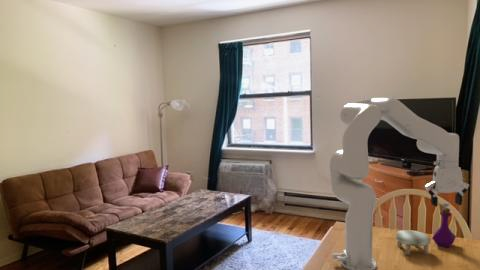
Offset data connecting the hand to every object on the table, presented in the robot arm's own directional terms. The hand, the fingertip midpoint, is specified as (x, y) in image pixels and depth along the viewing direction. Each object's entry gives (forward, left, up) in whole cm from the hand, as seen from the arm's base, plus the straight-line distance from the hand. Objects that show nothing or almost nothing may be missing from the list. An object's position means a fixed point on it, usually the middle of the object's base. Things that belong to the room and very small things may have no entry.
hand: (446, 204), depth 140 cm
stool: (-16, -4, -17) cm, 23 cm away
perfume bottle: (-1, 0, -17) cm, 17 cm away
